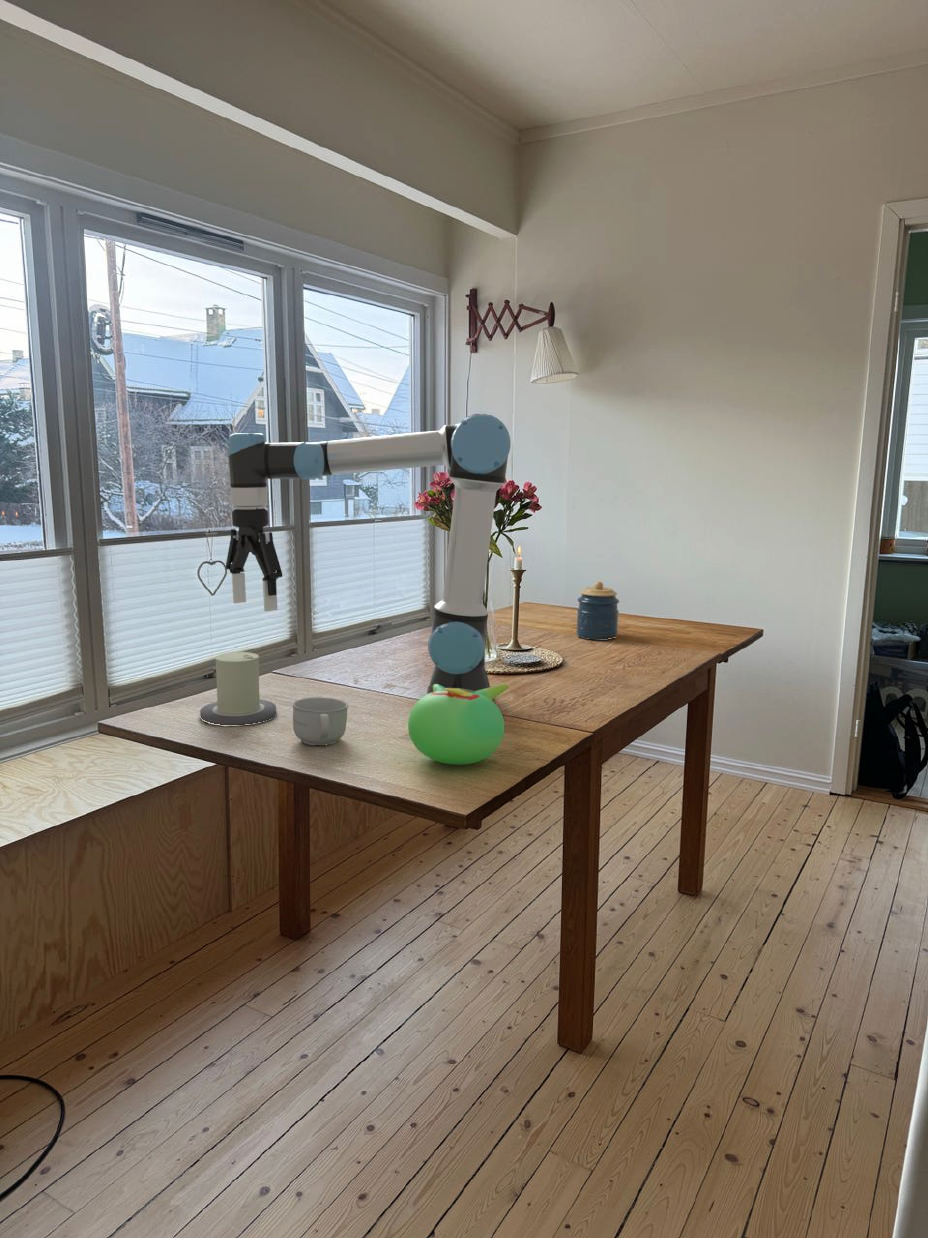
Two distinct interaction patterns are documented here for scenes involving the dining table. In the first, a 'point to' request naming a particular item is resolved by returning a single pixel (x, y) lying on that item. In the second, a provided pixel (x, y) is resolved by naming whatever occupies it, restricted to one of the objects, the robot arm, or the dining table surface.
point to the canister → (597, 613)
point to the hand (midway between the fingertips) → (254, 606)
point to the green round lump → (457, 724)
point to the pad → (216, 717)
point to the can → (237, 682)
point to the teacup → (319, 720)
